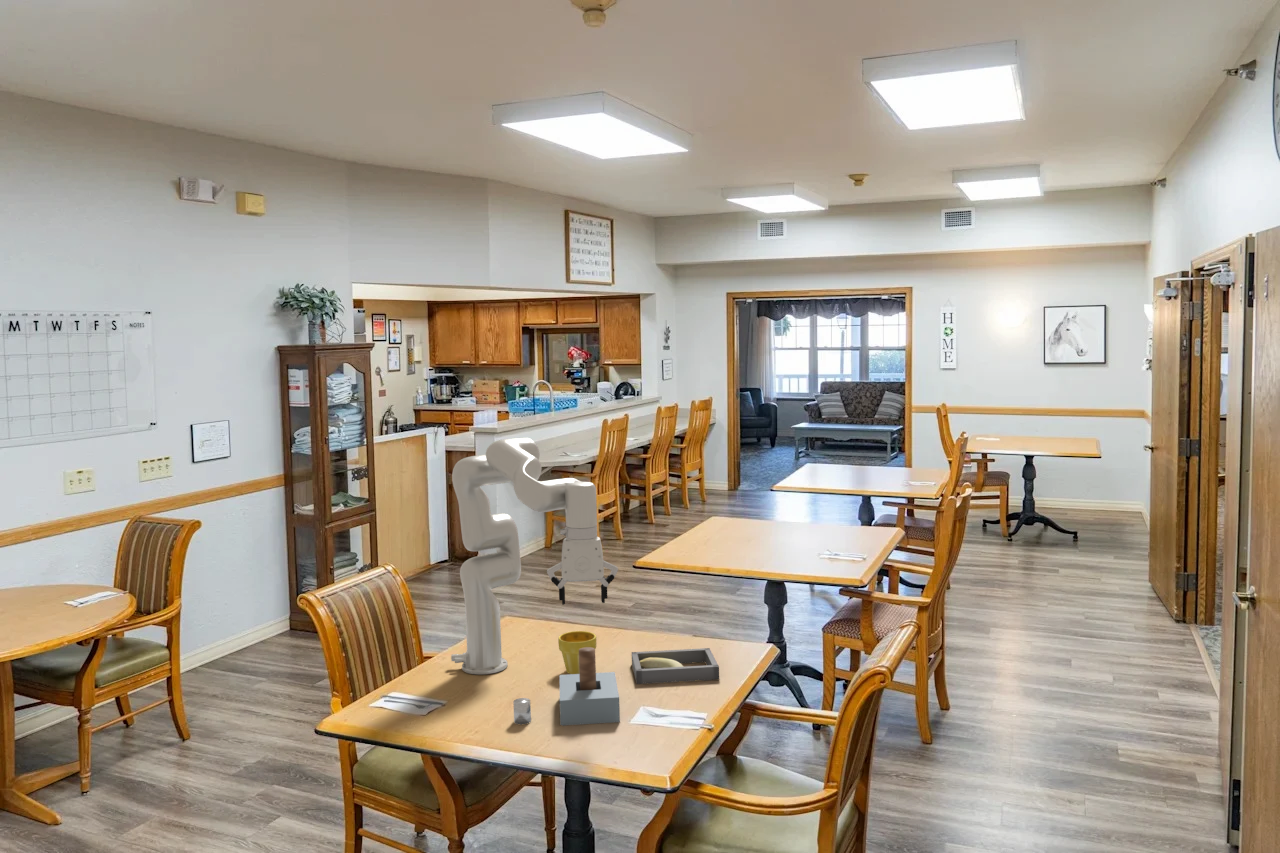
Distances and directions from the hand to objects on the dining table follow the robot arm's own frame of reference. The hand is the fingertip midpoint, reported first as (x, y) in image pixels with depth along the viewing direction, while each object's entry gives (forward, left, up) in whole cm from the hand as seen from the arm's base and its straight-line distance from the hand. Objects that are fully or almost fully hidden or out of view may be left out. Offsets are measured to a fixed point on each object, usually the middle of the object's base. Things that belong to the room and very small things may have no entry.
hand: (583, 602), depth 231 cm
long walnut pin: (+1, -1, -27) cm, 27 cm away
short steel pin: (-15, -6, -27) cm, 31 cm away
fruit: (+21, +23, -27) cm, 42 cm away
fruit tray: (+25, +23, -27) cm, 43 cm away
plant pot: (-1, +28, -27) cm, 39 cm away
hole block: (+1, -1, -27) cm, 27 cm away
